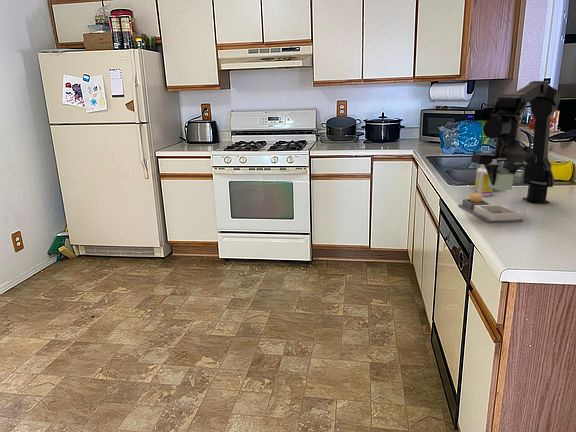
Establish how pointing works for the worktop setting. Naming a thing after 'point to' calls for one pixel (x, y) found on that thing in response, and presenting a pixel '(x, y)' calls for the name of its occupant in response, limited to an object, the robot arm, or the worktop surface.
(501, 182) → the pale green block
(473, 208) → the chassis
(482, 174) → the supplement bottle
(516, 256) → the worktop surface
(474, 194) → the click button
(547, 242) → the worktop surface
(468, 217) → the worktop surface
